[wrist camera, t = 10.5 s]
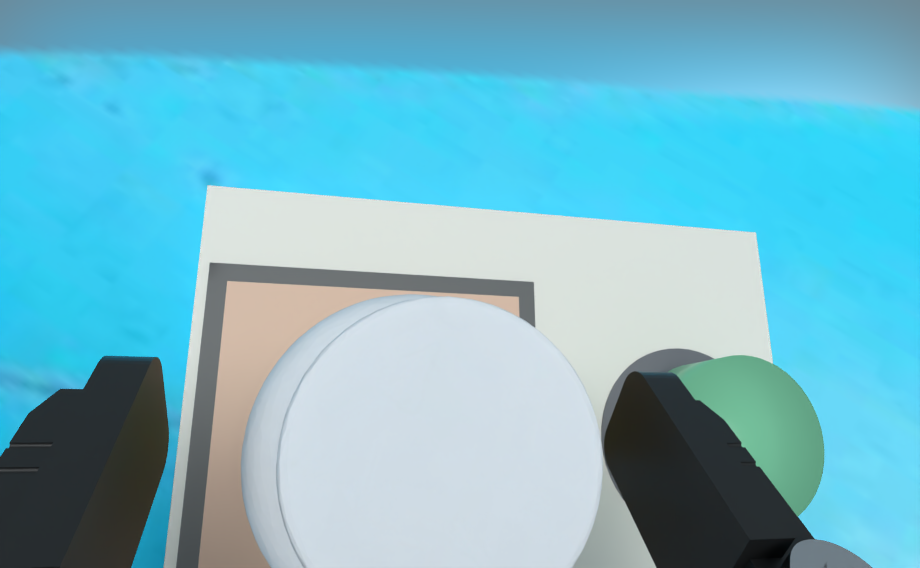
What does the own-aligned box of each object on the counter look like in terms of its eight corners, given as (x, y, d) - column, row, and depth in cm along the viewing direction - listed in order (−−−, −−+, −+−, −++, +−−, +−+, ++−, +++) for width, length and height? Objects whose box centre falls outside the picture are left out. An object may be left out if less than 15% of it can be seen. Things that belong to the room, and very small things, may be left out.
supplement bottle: (312, 324, 17) (301, 181, 7) (492, 378, 17) (685, 310, 8) (242, 526, 15) (119, 660, 6) (444, 576, 16) (617, 766, 7)
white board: (151, 741, 14) (140, 760, 13) (212, 196, 18) (207, 183, 17) (795, 677, 18) (818, 689, 17) (740, 239, 22) (757, 231, 21)
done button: (642, 521, 16) (684, 532, 15) (631, 361, 18) (668, 352, 16) (779, 517, 17) (836, 527, 15) (760, 365, 18) (810, 357, 17)
